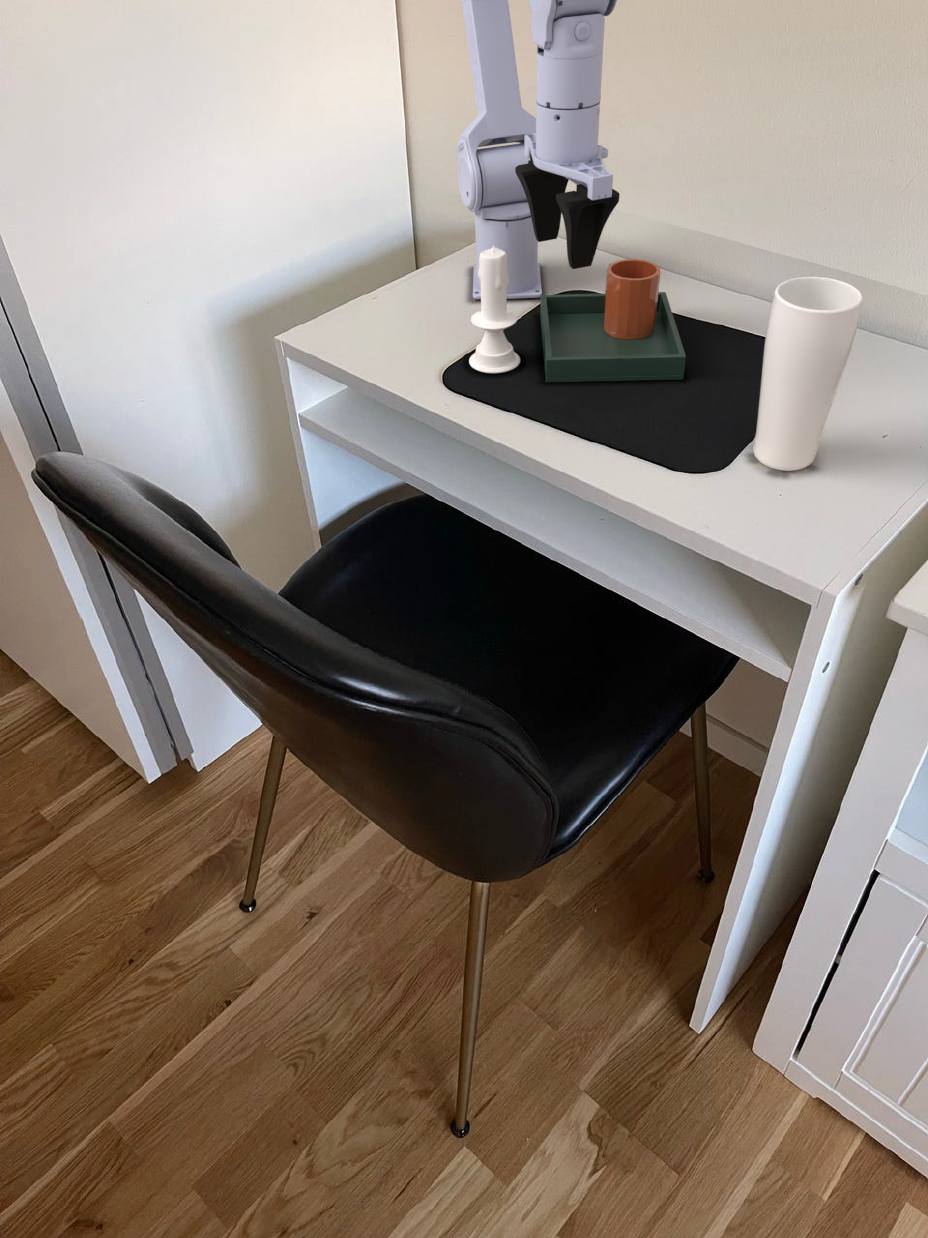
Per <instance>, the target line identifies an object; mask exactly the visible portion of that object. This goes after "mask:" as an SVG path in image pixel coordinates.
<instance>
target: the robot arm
mask: <svg viewBox="0 0 928 1238" xmlns="http://www.w3.org/2000/svg"><path fill="white" fill-rule="evenodd" d="M527 1H528V7H529V11H530V18H531V35H532V43H533V44H535V45H536V98H535V99H536V102H535V111H536V112H535V116H534V115H533V114H531V113H530V112H528V110H526V109H525V108H523V107H522V99H521V91H520V83H519V76H518V67H517V60H516V51H515V43H514V36H513V28H512V19H511V11H510V6H509V5H510V3H509V0H461V6H462V13H463V21H464V29H465V35H466V42H467V49H468V55H469V64H470V70H471V77H472V78H471V79H472V85H473V90H474V98H475V100H474V101H475V106H476V113H477V115H476V117H475V118H474V119H473V120H472V121H471V122H470V124H469V125H468V126H467V127H466V128H465V129H464V131H462V132H461V134H460V136H459V138H458V141H457V145H456V156H457V184H458V189H459V190H458V191H459V194H460V198H461V201H462V203H463V205H464V206H465V208H467V209H468V211H470V212H471V213H474V237H475V264H474V265H473V276H472V277H473V278H472V279H473V281H472V298H473V299H474V300H481V281H480V279H479V277H478V272H479V258H480V253H481V252H483V251H485V250H488V249H491V248H493V245H494V246H495V248H498V249H500V250H502V251H504V252H506V254H507V271H508V278H509V282H508V285H507V300H508V299H509V300H511V299H513V300H514V299H541V295H543V290H542V289H543V288H542V278H541V268H540V262H539V243H543V242H547V241H553V240H557V239H558V236H559V234H560V233H559V232H560V229H561V228H560V227H561V220H562V219H563V224H564V228H565V237H566V238H565V239H566V253H567V262H568V266H569V268H571V269H572V270H577V269H583V268H588V267H592V264H593V262H594V258H595V255H596V252H597V249H598V246H599V242H600V240H601V236H602V233H603V231H604V228H605V226H606V224H607V221H608V220H609V217H610V216H611V214H612V213H613V211H614V209H615V208H616V206H617V205H618V204H619V202H620V192H619V191H618V190H616V189H614V188H613V183H614V174H613V173H611V172H610V171H608V169H607V167H606V164H605V162H604V159H608V157H609V149H608V148H607V147H605V146H604V145H601V144H599V131H600V114H601V113H600V111H601V96H602V94H601V93H602V78H603V76H602V75H603V62H604V61H603V59H604V41H605V20H606V19H605V17H608V16H610V15H611V14H612V13H613V11H614V9H615V6H616V4H617V1H618V0H527ZM504 144H505V145H504ZM496 145H497V146H496ZM498 145H499V146H498ZM490 146H491V147H490ZM482 147H483V148H482ZM569 182H571V183H573V184H575V185H576V186H575V187H576V188H575V190H570V191H566V190H567V186H568V183H569Z"/></svg>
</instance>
